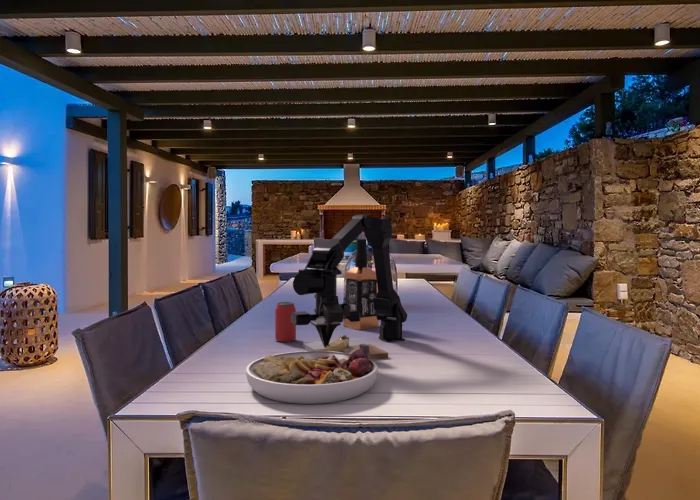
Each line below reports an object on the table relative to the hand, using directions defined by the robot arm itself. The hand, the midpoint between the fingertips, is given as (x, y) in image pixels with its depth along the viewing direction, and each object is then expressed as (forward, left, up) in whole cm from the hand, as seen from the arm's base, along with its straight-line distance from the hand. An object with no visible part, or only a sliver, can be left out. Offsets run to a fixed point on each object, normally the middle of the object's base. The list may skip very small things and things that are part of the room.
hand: (325, 347), depth 148 cm
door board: (-7, +1, -3) cm, 8 cm away
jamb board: (-7, -9, -3) cm, 12 cm away
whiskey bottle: (-28, -39, -3) cm, 48 cm away
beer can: (+4, -27, -3) cm, 27 cm away
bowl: (+12, +22, -4) cm, 25 cm away
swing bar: (-4, -1, -1) cm, 5 cm away
